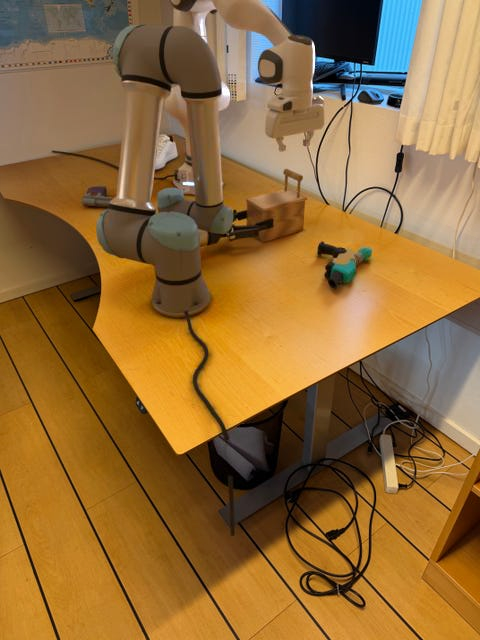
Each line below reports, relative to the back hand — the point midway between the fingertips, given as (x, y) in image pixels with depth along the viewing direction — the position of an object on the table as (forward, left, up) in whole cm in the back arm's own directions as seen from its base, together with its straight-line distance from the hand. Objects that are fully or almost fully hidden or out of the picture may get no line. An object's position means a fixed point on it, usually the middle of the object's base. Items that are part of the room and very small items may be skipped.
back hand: (294, 148), depth 147 cm
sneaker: (-86, -8, -26) cm, 91 cm away
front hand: (0, -11, -20) cm, 23 cm away
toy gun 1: (-57, -43, -26) cm, 76 cm away
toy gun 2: (+31, -8, -26) cm, 41 cm away
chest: (0, -6, -26) cm, 27 cm away
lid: (0, -6, -16) cm, 17 cm away
